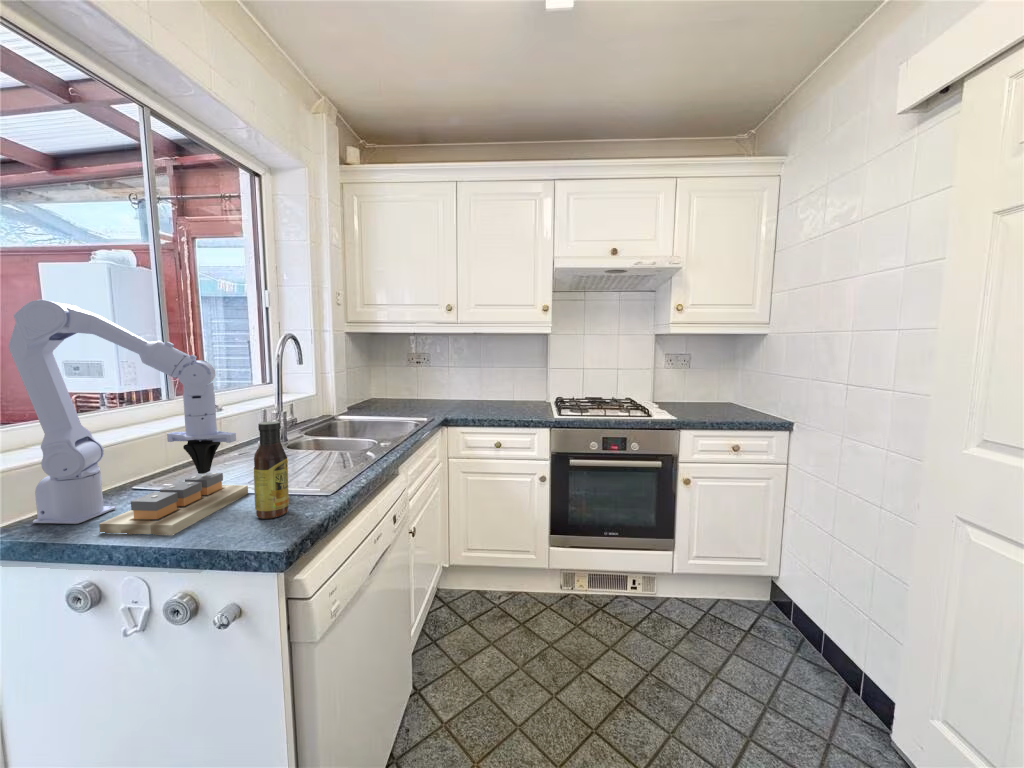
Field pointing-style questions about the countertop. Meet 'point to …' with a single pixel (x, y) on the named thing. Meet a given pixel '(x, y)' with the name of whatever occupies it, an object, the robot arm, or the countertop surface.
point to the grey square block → (154, 505)
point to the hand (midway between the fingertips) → (204, 472)
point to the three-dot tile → (208, 482)
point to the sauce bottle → (270, 473)
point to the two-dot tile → (185, 492)
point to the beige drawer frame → (175, 514)
